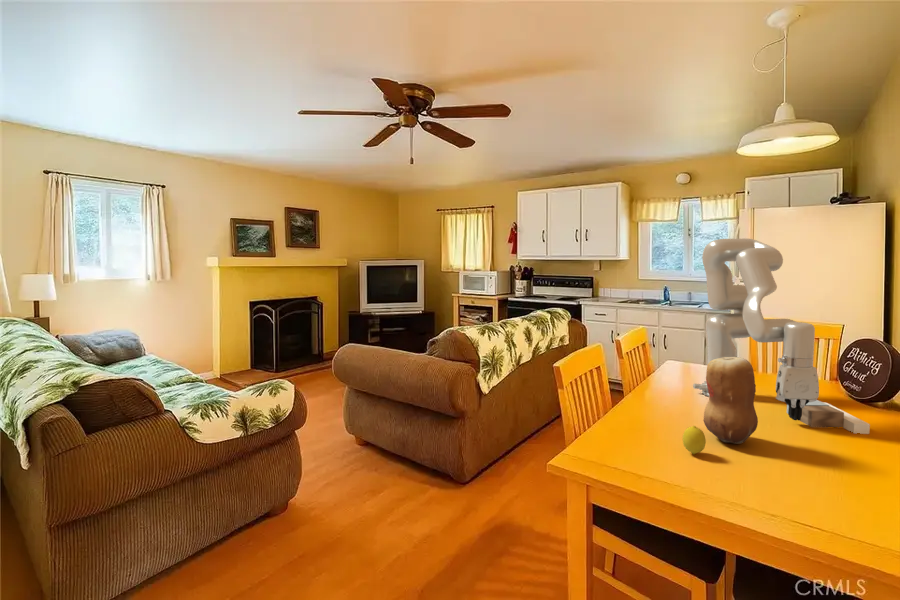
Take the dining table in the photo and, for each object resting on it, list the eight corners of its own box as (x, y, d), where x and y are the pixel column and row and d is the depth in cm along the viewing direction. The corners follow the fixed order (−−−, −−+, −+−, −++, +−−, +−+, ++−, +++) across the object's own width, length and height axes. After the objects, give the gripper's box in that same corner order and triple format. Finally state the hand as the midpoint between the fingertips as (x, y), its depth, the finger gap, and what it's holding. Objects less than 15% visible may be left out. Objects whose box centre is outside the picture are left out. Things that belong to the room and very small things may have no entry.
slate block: (798, 419, 143) (799, 405, 143) (786, 413, 149) (787, 399, 149) (828, 420, 143) (829, 405, 142) (814, 413, 149) (815, 399, 148)
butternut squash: (699, 430, 137) (701, 351, 134) (749, 435, 132) (752, 353, 130) (708, 448, 124) (711, 361, 121) (765, 454, 119) (768, 364, 117)
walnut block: (811, 427, 137) (812, 412, 136) (798, 420, 143) (799, 405, 142) (843, 428, 136) (844, 412, 135) (828, 421, 142) (829, 406, 141)
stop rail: (853, 433, 131) (854, 423, 131) (812, 410, 151) (812, 402, 151) (869, 434, 130) (869, 424, 130) (825, 411, 150) (826, 402, 150)
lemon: (702, 451, 122) (703, 423, 121) (707, 459, 117) (708, 430, 116) (680, 448, 124) (681, 421, 123) (684, 457, 119) (684, 428, 118)
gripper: (777, 364, 134) (775, 422, 136) (832, 365, 132) (829, 424, 134) (764, 358, 142) (762, 413, 144) (816, 359, 139) (813, 415, 141)
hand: (794, 418), depth 139 cm, fingers closed
